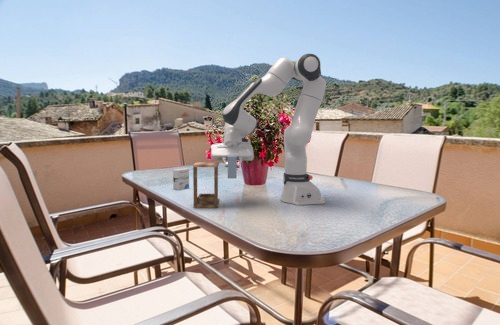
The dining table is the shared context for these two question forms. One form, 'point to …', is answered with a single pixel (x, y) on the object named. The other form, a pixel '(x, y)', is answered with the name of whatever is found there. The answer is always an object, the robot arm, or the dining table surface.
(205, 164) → the wooden frame stand
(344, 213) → the dining table surface
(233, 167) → the peg
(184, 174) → the ink box
